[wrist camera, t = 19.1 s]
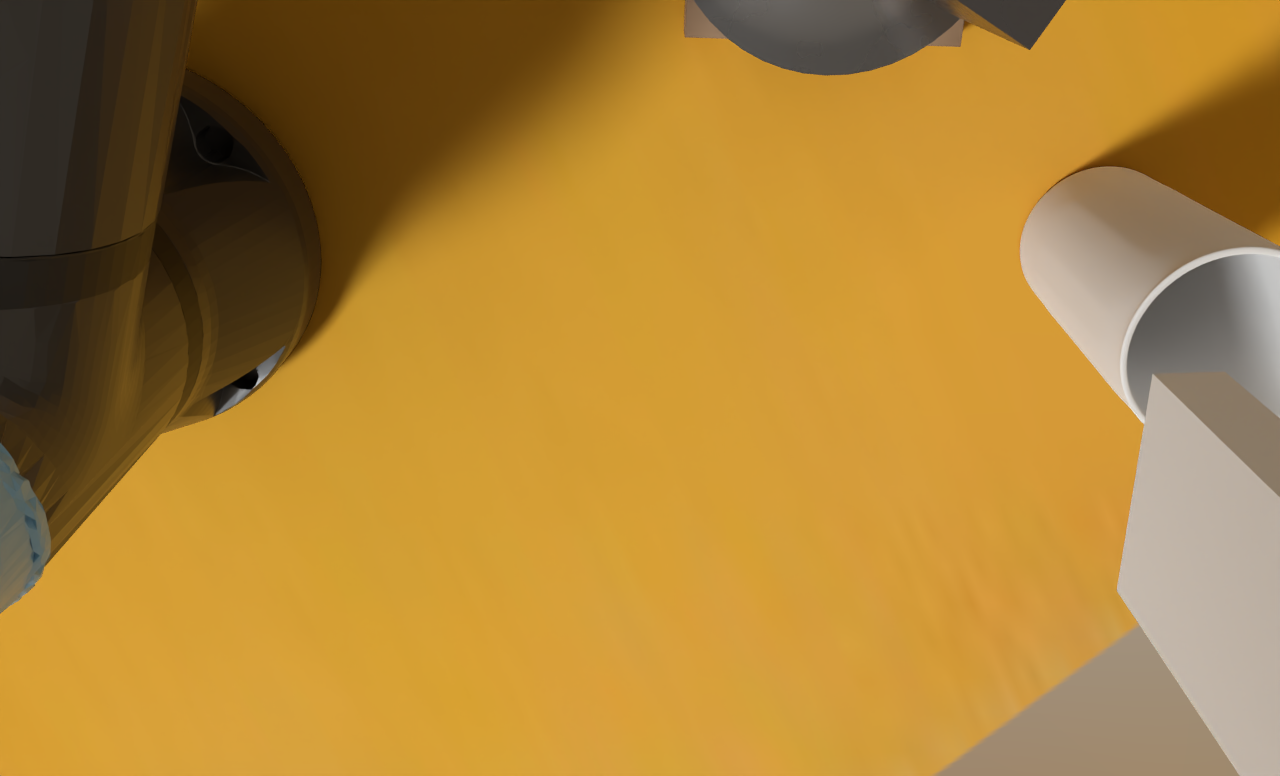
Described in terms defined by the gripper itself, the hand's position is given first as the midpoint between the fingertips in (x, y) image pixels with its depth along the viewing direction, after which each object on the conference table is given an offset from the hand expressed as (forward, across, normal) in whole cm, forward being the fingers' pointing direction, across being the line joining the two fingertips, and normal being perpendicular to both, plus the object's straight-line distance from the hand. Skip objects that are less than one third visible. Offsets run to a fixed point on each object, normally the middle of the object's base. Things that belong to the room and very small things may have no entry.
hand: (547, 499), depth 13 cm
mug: (+34, +20, -9) cm, 41 cm away
